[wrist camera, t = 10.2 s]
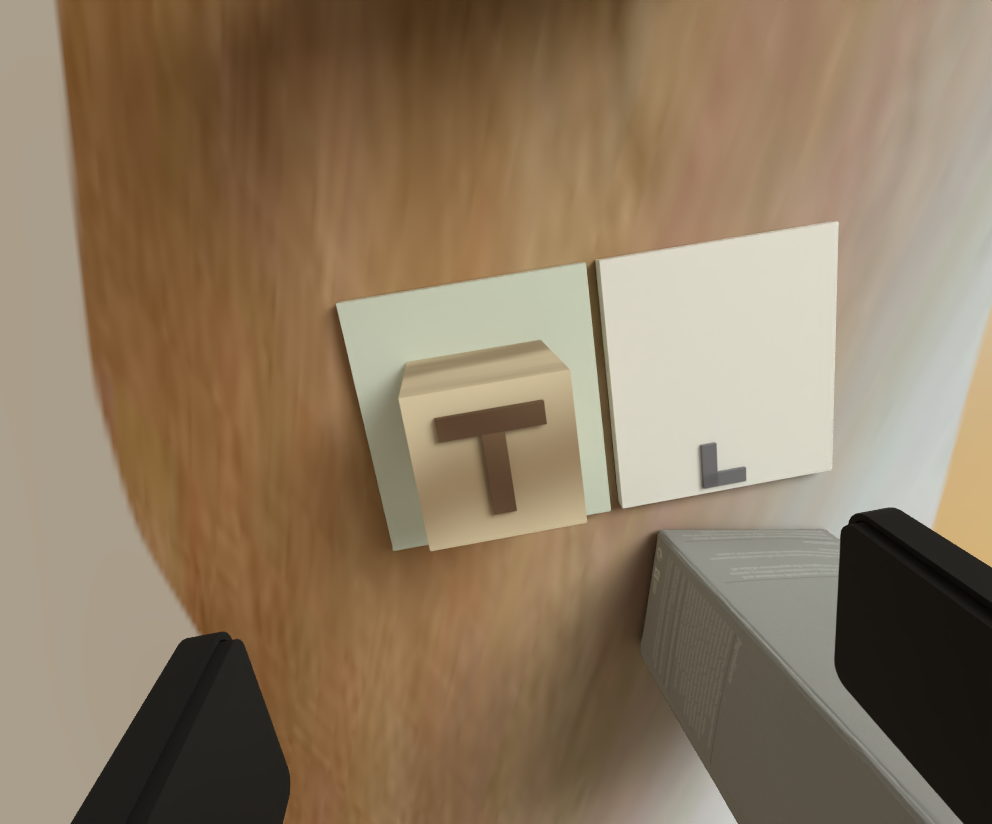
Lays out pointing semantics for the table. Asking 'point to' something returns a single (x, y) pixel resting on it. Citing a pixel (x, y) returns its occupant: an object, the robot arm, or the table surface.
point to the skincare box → (772, 681)
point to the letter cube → (493, 443)
